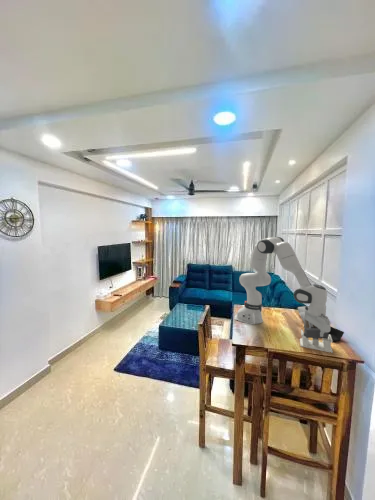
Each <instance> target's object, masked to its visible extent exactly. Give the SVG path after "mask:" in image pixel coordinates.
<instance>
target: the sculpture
mask: <svg viewBox="0 0 375 500" xmlns="http://www.w3.org/2000/svg"><path fill="white" fill-rule="evenodd" d="M305 306H306V305H305ZM305 306H297V312H298V314H299V316H300V318H301V320H302V321H303V323H304V315H305Z"/></svg>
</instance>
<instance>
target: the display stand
mask: <svg viewBox="0 0 375 500" xmlns="http://www.w3.org/2000/svg"><path fill="white" fill-rule="evenodd" d="M300 335H301V338H299V344H300V347H302V348H307V349H310V350H311V349H312V350H316V351H321V352H327V353H330V352H331V353H330V354H333V349H332V346H331V345H332V343H333V340H332V338H331V335H330V334H329V336H328V339H326V338H322V342H321V341H320V340H319V339H320V338H312V340H311V339H310V338H306V337H305V336H304V329H300Z"/></svg>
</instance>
